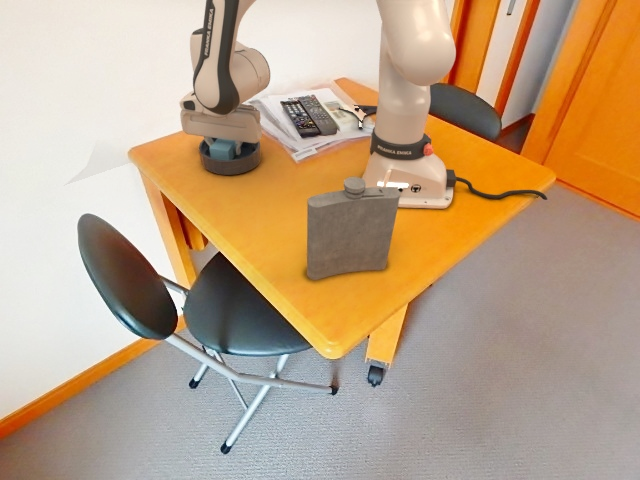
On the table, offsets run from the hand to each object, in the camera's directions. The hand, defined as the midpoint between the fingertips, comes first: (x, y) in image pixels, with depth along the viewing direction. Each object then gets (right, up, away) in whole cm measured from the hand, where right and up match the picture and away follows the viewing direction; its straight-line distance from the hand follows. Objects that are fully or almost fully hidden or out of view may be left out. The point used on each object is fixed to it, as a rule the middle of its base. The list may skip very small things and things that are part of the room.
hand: (225, 152), depth 104 cm
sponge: (0, -1, +1) cm, 2 cm away
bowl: (+1, -2, +1) cm, 3 cm away
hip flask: (+30, -29, -26) cm, 49 cm away
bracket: (+38, +15, +21) cm, 46 cm away
